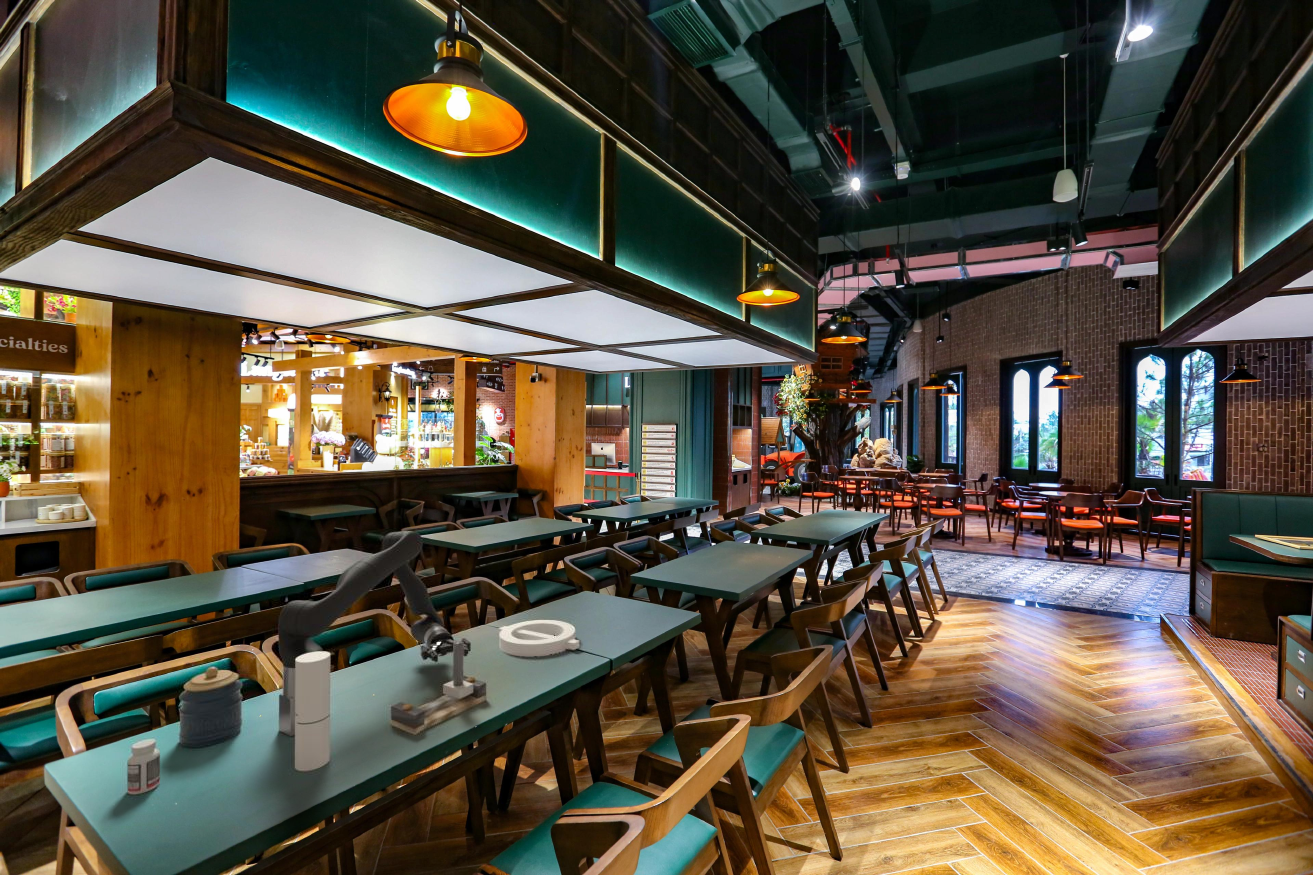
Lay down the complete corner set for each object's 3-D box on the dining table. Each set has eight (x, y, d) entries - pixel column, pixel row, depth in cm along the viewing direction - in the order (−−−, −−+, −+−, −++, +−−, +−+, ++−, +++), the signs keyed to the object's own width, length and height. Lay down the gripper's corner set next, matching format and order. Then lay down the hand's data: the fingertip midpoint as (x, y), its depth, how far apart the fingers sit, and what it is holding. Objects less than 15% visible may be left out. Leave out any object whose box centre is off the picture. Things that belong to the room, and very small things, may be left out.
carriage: (459, 698, 165) (459, 647, 165) (443, 693, 169) (443, 642, 169) (473, 692, 169) (473, 642, 169) (457, 686, 173) (457, 638, 173)
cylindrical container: (322, 751, 143) (323, 649, 143) (334, 761, 138) (335, 655, 139) (290, 763, 137) (290, 657, 138) (301, 774, 133) (302, 664, 133)
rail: (414, 734, 151) (414, 712, 151) (390, 724, 156) (391, 703, 156) (486, 699, 171) (486, 680, 171) (463, 691, 177) (463, 673, 177)
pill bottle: (157, 777, 131) (158, 734, 132) (161, 787, 128) (161, 742, 128) (125, 788, 128) (126, 743, 128) (128, 798, 124) (128, 752, 124)
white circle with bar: (497, 635, 229) (497, 623, 229) (569, 628, 237) (569, 617, 238) (501, 661, 202) (501, 647, 202) (581, 652, 211) (581, 639, 211)
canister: (252, 721, 158) (252, 656, 158) (224, 746, 145) (225, 675, 145) (199, 725, 156) (199, 659, 156) (166, 750, 143) (166, 678, 143)
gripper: (415, 632, 185) (426, 647, 171) (461, 625, 193) (475, 638, 179) (415, 656, 185) (426, 673, 171) (461, 647, 193) (475, 663, 179)
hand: (451, 655), depth 175 cm, fingers open, 8 cm apart
